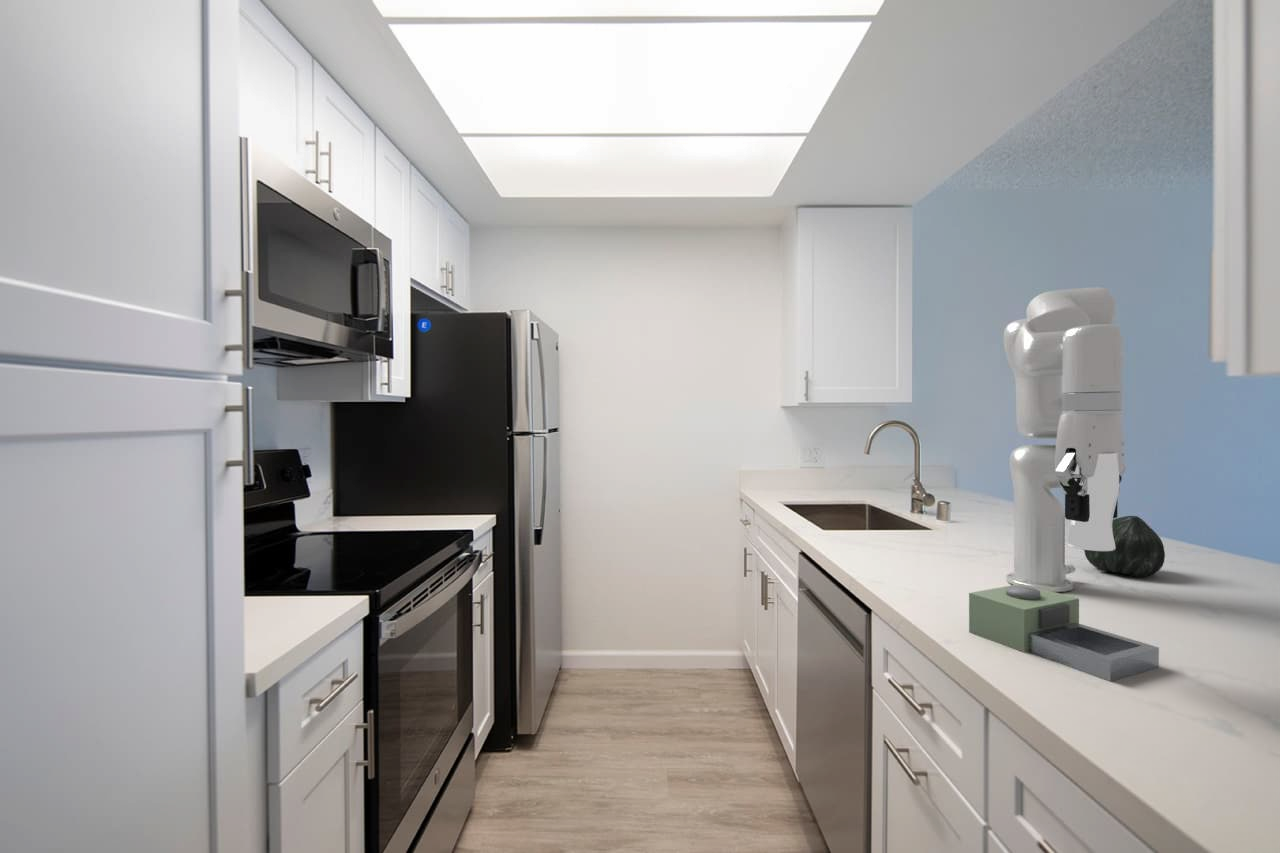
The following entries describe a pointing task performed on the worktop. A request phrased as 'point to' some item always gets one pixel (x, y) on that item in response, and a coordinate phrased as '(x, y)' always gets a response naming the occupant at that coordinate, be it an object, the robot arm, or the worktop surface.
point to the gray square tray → (1094, 651)
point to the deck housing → (1019, 613)
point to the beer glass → (1098, 507)
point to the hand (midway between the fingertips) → (1091, 517)
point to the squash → (1131, 549)
